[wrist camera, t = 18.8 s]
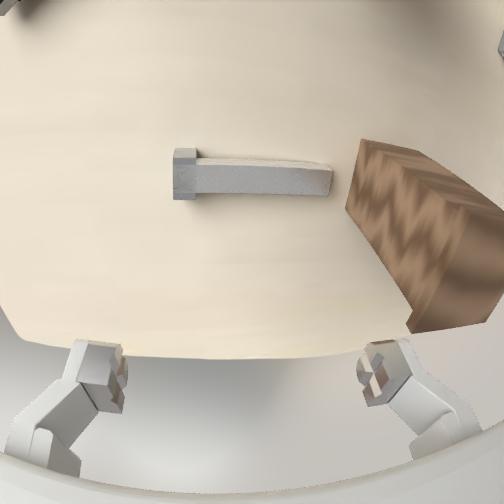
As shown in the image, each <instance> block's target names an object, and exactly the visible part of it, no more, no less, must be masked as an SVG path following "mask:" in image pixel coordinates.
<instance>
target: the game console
mask: <svg viewBox="0 0 504 504" xmlns="http://www.w3.org/2000/svg"><path fill="white" fill-rule="evenodd" d="M17 1H21V0H0V16H4V15H5V14H6V13H7V12H8V11H9V10H10V8H11V7H12V6H13V5H14V4H15V3H16V2H17Z"/></svg>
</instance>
